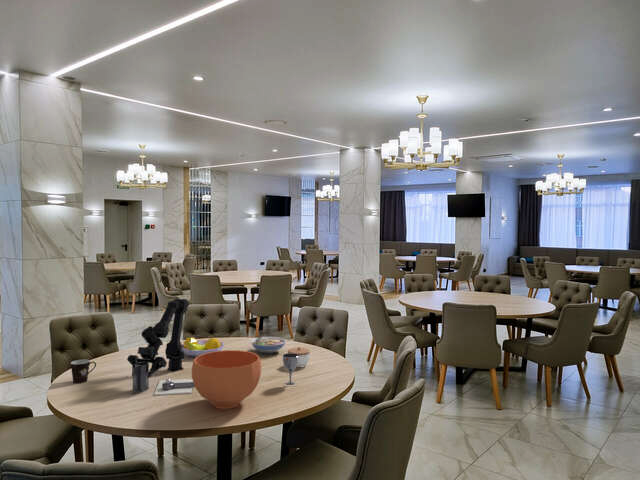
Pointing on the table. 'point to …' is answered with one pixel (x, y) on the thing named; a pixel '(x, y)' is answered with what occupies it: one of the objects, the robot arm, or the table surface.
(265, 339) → the ramen bowl
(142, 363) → the loose hinge half
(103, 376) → the table surface
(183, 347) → the fruit bowl
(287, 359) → the wine glass
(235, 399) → the flowerpot
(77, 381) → the coffee mug
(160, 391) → the hinge base
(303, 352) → the lidded bowl
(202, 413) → the table surface
